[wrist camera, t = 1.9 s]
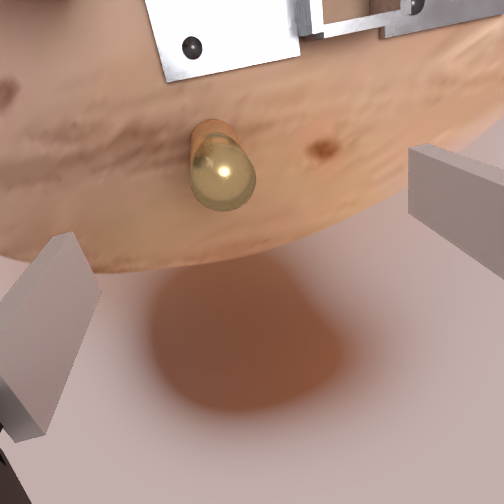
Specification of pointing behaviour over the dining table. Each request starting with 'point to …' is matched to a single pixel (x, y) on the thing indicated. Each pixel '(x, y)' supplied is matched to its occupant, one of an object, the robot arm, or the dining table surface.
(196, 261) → the dining table surface
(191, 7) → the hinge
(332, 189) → the dining table surface
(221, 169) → the hinge pin
